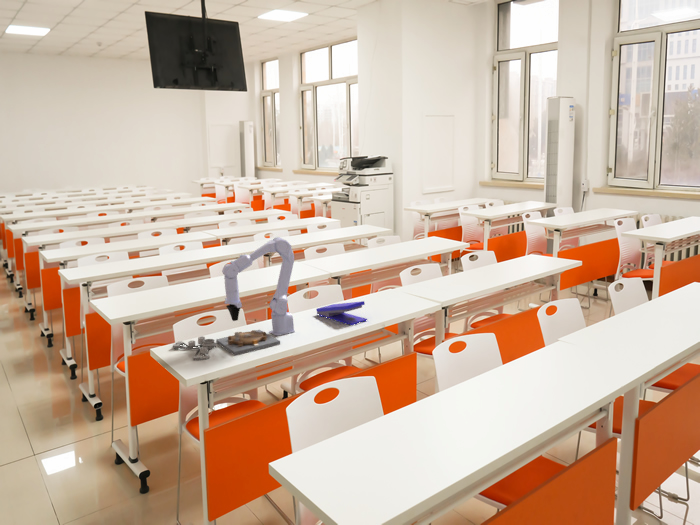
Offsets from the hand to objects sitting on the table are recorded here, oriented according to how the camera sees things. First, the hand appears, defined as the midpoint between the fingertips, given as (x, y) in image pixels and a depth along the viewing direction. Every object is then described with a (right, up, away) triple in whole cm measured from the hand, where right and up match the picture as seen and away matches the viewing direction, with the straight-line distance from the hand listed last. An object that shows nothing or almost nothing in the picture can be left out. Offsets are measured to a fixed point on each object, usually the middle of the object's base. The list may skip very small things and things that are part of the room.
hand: (235, 320), depth 251 cm
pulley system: (-14, -13, -9) cm, 21 cm away
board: (+6, -10, -4) cm, 12 cm away
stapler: (+47, -2, +28) cm, 55 cm away
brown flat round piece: (+6, -8, -4) cm, 11 cm away
